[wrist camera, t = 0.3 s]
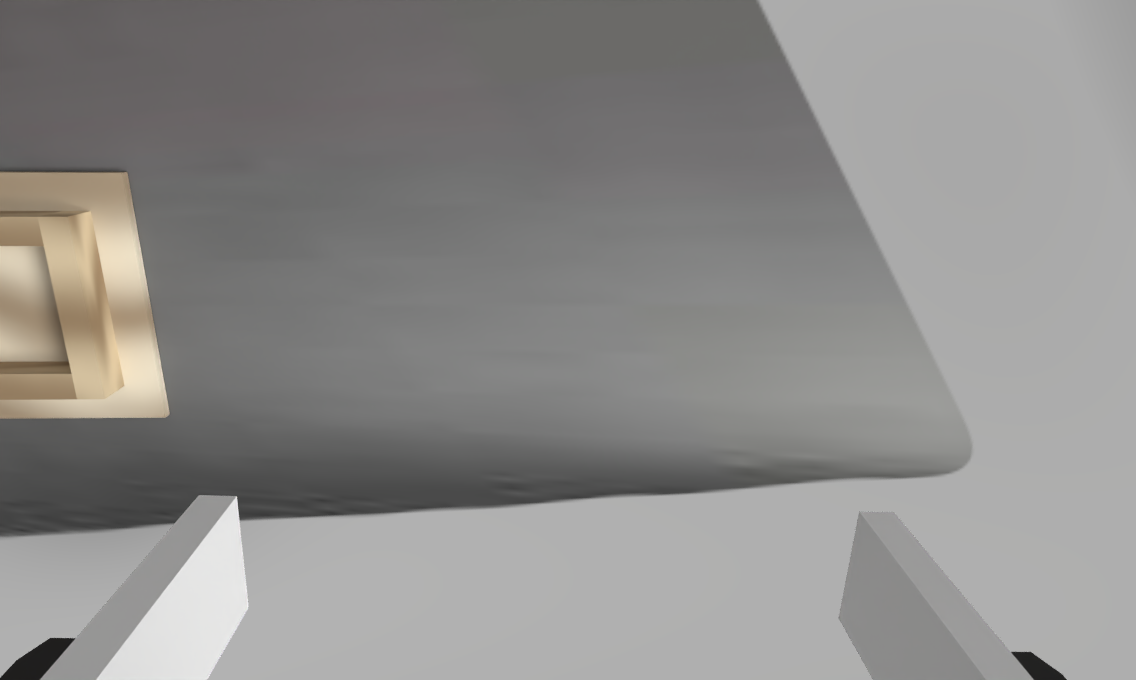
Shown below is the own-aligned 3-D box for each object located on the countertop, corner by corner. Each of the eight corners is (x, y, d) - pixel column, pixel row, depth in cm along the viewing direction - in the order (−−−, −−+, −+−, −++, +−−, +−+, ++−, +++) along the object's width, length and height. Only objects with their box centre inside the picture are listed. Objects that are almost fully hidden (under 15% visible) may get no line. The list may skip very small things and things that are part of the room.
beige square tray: (-144, 170, 39) (-189, 175, 37) (127, 172, 39) (100, 176, 37) (-74, 415, 43) (-110, 433, 41) (169, 414, 44) (148, 432, 41)
